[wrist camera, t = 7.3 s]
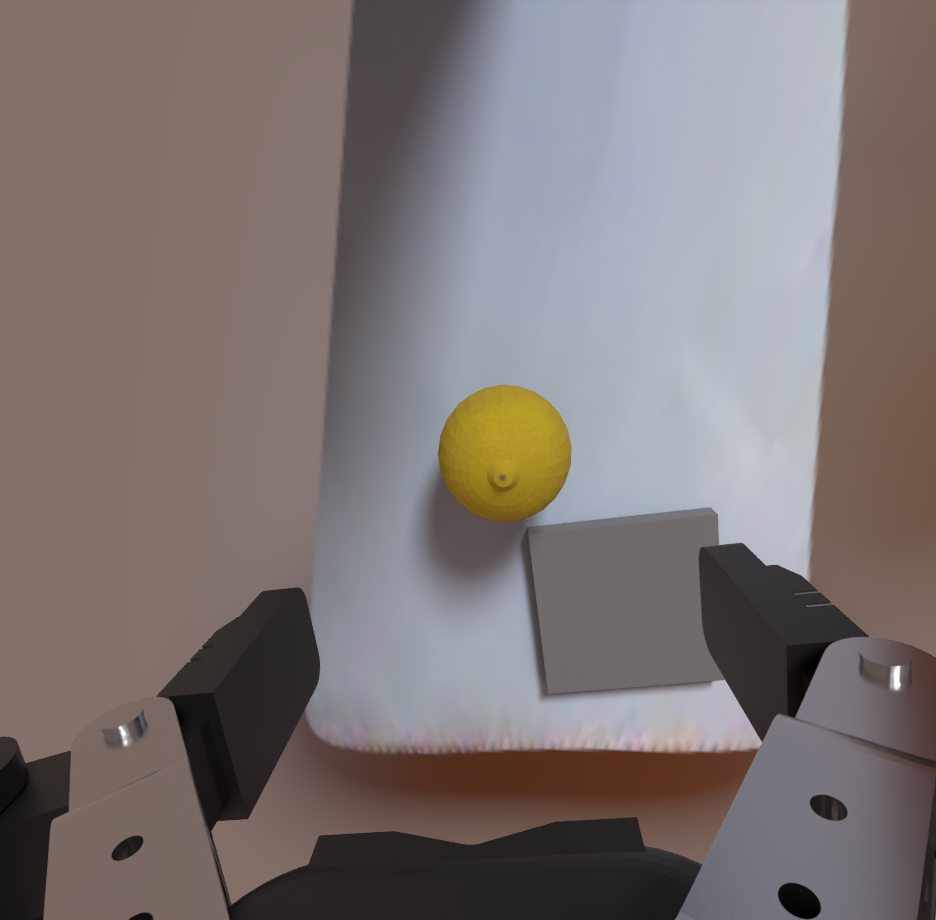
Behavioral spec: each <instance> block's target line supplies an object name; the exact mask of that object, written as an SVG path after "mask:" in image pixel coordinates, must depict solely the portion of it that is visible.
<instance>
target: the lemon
mask: <svg viewBox="0 0 936 920" xmlns="http://www.w3.org/2000/svg"><path fill="white" fill-rule="evenodd" d="M438 456H439V463H440V470H441V474H442V476H443V479H444V481H445V483H446V486H447V488H448V490H449V491H450V492H451V494H452V495H453V496H454V498H455V499H456V500H457V502H458V503H460V504H461V505H462V506H463V507H465V508H466V509H467V510H468V511H469V512H471V513H473V514H475V515H477V516H479V517H481V518H484V519H488V520H492V521H497V522H512V521H518V520H521V519H525V518H528V517H531V516H532V515H534V514H536V513H538V512H540V511H541V510H543V509H544V508H545V507H546V506H547V505H549V504H550V503H551V502H552V501H553V500H554V499H555V498H556V496H557V495H558V493H559V491H560V490H561V488H562V487H563V485H564V484H565V481H566V478H567V475H568V472H569V469H570V465H571V443H570V439H569V434H568V430H567V428H566V426H565V424H564V422H563V420H562V418H561V416H560V414H559V413H558V412H557V410H556V409H555V408H554V407H553V406H552V405H551V404H550V403H549V401H547V400H546V399H544V398H543V397H541V396H540V395H538V394H537V393H535V392H533V391H530V390H527V389H524V388H521V387H519V386H507V385H500V386H494V387H489V388H485V389H483V390H480V391H478V392H476V393H474V394H472V395H470V396H469V397H467V398H466V399H465V400H464V401H462V402H461V403H460V404H459V405H457V407H456V408H455V409H454V411H453V412H452V414H451V415H450V416H449V418H448V419H447V421H446V423H445V426H444V428H443V431H442V433H441V436H440V444H439V452H438Z"/></svg>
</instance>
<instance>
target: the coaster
mask: <svg viewBox="0 0 936 920" xmlns="http://www.w3.org/2000/svg"><path fill="white" fill-rule="evenodd" d="M528 538H529V546H530V554H531V562H532V570H533V578H534V586H535V594H536V602H537V610H538V618H539V626H540V634H541V642H542V650H543V658H544V666H545V674H546V682H547V689H548V694H555V693H567V692H580V691H592V690H605V689H617V688H630V687H643V686H655V685H668V684H680V683H693V682H705V681H718V680H725V678H724V677H723V675H722V673H721V672H720V670H719V668H718V666H717V665H716V663H715V661H714V660H713V658H712V656H711V654H710V652H709V650H708V647H707V644H706V641H705V637H704V632H703V626H702V614H701V595H700V577H699V551H700V548H701V547H706V546H716V545H719V537H718V514H717V513H716V512H715V511H714V510H712V509H711V508H702V509H693V510H684V511H675V512H665V513H656V514H647V515H638V516H629V517H619V518H610V519H601V520H592V521H583V522H574V523H564V524H555V525H546V526H537V527H528Z"/></svg>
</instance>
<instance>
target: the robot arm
mask: <svg viewBox="0 0 936 920" xmlns="http://www.w3.org/2000/svg"><path fill="white" fill-rule="evenodd" d="M699 577H700V595H701V614H702V626H703V632H704V637H705V641H706V644H707V647H708V650H709V652H710V654H711V656H712V658H713V660H714V661H715V663H716V665H717V666H718V668H719V670H720V672H721V673H722V675H723V677H724V678H725V680H726V682H727V683H728V685H729V687H730V689H731V690H732V692H733V694H734V695H735V697H736V699H737V700H738V702H739V704H740V706H741V707H742V709H743V711H744V712H745V714H746V716H747V717H748V719H749V721H750V722H751V724H752V726H753V728H754V729H755V731H756V733H757V734H758V736H759V738H760V739H761V741H762V744H761V746H760V748H759V750H758V752H757V754H756V756H755V758H754V760H753V762H752V764H751V767H750V769H749V771H748V773H747V775H746V777H745V779H744V781H743V783H742V785H741V787H740V789H739V791H738V793H737V795H736V797H735V799H734V801H733V803H732V805H731V808H730V810H729V812H728V814H727V816H726V818H725V820H724V822H723V824H722V826H721V828H720V830H719V832H718V834H717V836H716V838H715V840H714V842H713V844H712V846H711V849H710V851H709V853H708V855H707V857H706V859H705V861H704V863H703V865H702V864H700V863H698V862H695V861H693V860H690V859H688V858H685V857H683V856H680V855H678V854H674V853H671V852H667V851H664V850H661V849H657V848H652V847H647V846H644V844H643V840H642V836H641V832H640V828H639V824H638V820H637V817H633V818H616V819H599V820H581V821H564V822H554V823H550V824H547V825H544V826H540V827H536V828H533V829H529V830H526V831H522V832H519V833H515V834H512V835H508V836H505V837H502V838H498V839H495V840H491V841H488V842H484V843H481V844H476V845H465V844H459V843H453V842H448V841H443V840H438V839H432V838H427V837H422V836H416V835H411V834H406V833H400V832H395V831H391V832H374V833H358V834H357V833H356V834H339V835H322V836H319V837H318V840H317V843H316V845H315V848H314V851H313V854H312V856H311V859H310V862H309V865H306V866H303V867H299V868H297V869H294V870H292V871H290V872H287V873H284V874H282V875H280V876H278V877H276V878H274V879H272V880H270V881H268V882H266V883H264V884H262V885H261V886H259V887H257V888H256V889H254V890H253V891H251V892H249V893H248V894H246V895H245V896H243V897H242V898H240V899H239V900H238V901H236V902H235V903H234V904H231V901H230V897H229V893H228V890H227V887H226V883H225V879H224V875H223V872H222V868H221V864H220V861H219V857H218V854H217V850H216V846H215V843H214V840H213V836H212V833H211V831H212V829H213V827H214V825H215V824H216V822H217V821H224V820H240V819H248V818H249V816H250V814H251V812H252V810H253V808H254V806H255V804H256V803H257V801H258V799H259V797H260V794H261V793H262V791H263V789H264V787H265V785H266V783H267V781H268V779H269V777H270V775H271V774H272V771H273V769H274V768H275V766H276V763H277V762H278V760H279V758H280V756H281V754H282V752H283V750H284V748H285V747H286V745H287V742H288V741H289V739H290V737H291V735H292V733H293V731H294V729H295V727H296V725H297V723H298V721H299V720H300V718H301V716H302V714H303V712H304V710H305V708H306V706H307V704H308V702H309V700H310V698H311V696H312V694H313V692H314V691H315V689H316V686H317V684H318V680H319V674H320V659H319V653H318V648H317V644H316V639H315V635H314V631H313V626H312V622H311V617H310V613H309V608H308V604H307V600H306V597H305V594H304V592H303V591H302V589H300V588H288V589H279V590H269V591H263V592H261V593H260V594H259V596H258V597H257V598H256V599H255V600H254V601H253V602H252V603H251V604H250V606H249V607H248V608H247V609H246V610H245V611H244V612H243V613H242V614H241V616H240V617H237V618H236V619H234V620H233V621H231V622H230V623H228V624H227V625H225V626H224V627H222V628H221V629H219V630H217V631H216V632H215V633H214V634H213V635H212V637H211V638H210V639H209V640H208V641H207V642H206V643H205V644H204V645H203V646H202V647H203V649H200V650H199V651H198V652H197V653H196V654H195V655H194V656H193V657H192V658H191V662H188V663H187V664H186V665H185V666H184V667H183V668H182V669H181V670H180V671H179V672H178V673H177V675H176V676H175V677H174V678H173V679H172V680H171V681H170V682H169V683H168V684H167V685H166V686H165V687H164V689H163V690H162V691H161V692H160V693H159V694H158V695H157V696H156V697H149V698H143V699H138V700H135V701H131V702H128V703H126V704H123V705H120V706H118V707H116V708H114V709H112V710H110V711H108V712H106V713H104V714H103V715H101V716H99V717H98V718H96V719H95V720H93V721H92V722H91V723H89V724H88V725H87V726H86V727H85V728H83V730H82V731H81V732H80V733H79V734H78V735H77V736H76V738H75V739H74V741H73V743H72V747H71V751H68V752H64V753H61V754H57V755H54V756H50V757H47V758H43V759H39V760H36V761H33V762H29V763H25V761H24V759H23V756H22V754H21V751H20V748H19V745H18V743H17V741H16V740H15V739H14V738H11V737H0V920H935V915H936V657H934V656H932V655H931V654H929V653H927V652H925V651H923V650H921V649H919V648H916V647H914V646H911V645H908V644H905V643H902V642H898V641H894V640H889V639H884V638H874V637H869V636H868V635H867V634H866V633H865V632H863V631H862V630H861V629H860V628H859V627H858V626H857V625H856V624H854V623H853V622H852V621H851V620H850V619H849V618H848V617H847V616H846V615H844V614H843V613H842V612H841V611H840V610H839V609H838V608H837V607H836V606H834V605H831V602H830V601H829V600H828V599H827V598H826V597H824V596H823V595H822V594H821V593H818V592H817V589H816V588H815V587H813V586H812V585H811V584H810V583H809V582H808V581H807V580H806V579H804V578H803V577H802V576H801V575H799V574H796V573H794V572H792V571H789V570H787V569H785V568H783V567H780V566H778V565H769V566H766V565H765V564H764V563H763V562H762V561H761V560H760V559H758V558H757V557H756V556H755V555H754V554H753V553H752V552H751V551H750V550H749V549H748V548H747V547H746V546H745V545H744V544H743V543H735V544H725V545H716V546H706V547H701V548H700V551H699Z"/></svg>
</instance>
